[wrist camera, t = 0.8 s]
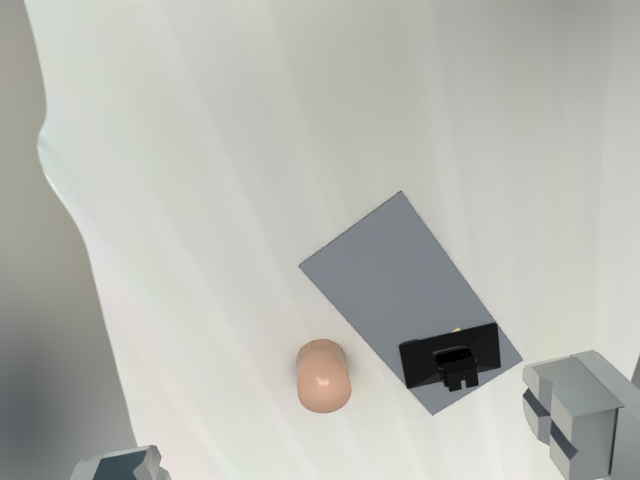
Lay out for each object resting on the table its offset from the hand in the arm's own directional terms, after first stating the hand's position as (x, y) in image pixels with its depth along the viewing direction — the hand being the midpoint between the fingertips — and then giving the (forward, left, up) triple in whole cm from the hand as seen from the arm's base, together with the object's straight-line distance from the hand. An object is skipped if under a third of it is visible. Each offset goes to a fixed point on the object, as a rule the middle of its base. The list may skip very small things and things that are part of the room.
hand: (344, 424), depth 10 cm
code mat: (+2, +26, -39) cm, 47 cm away
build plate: (+2, +34, -39) cm, 51 cm away
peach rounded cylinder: (+15, +24, -39) cm, 48 cm away
